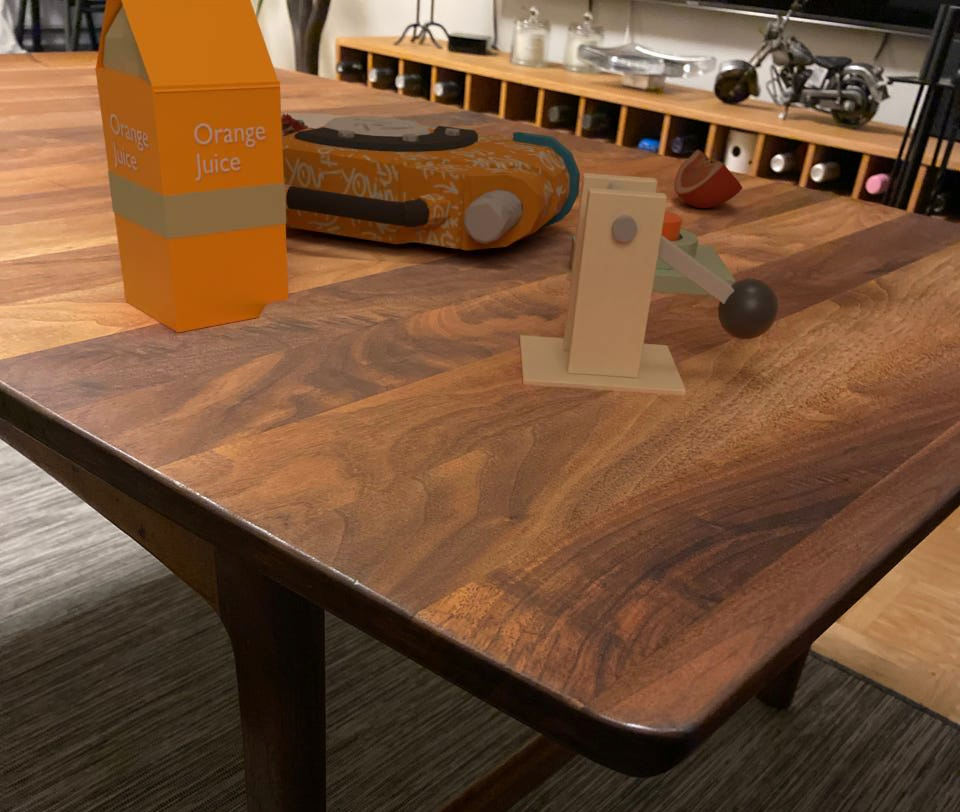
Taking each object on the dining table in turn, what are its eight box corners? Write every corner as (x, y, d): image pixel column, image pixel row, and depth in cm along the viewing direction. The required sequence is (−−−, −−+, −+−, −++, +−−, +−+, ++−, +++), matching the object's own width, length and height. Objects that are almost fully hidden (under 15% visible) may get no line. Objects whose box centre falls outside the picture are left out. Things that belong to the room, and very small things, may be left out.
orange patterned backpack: (524, 181, 75) (160, 129, 81) (513, 294, 80) (171, 237, 86) (590, 134, 93) (287, 94, 99) (578, 229, 98) (290, 185, 104)
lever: (744, 338, 67) (782, 291, 65) (756, 358, 64) (796, 310, 62) (579, 222, 63) (615, 169, 61) (584, 238, 60) (622, 182, 58)
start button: (674, 234, 84) (678, 211, 83) (681, 247, 81) (685, 224, 80) (625, 230, 84) (629, 207, 83) (631, 243, 81) (634, 220, 80)
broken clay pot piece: (662, 195, 112) (670, 145, 109) (720, 198, 113) (730, 148, 110) (685, 215, 106) (694, 162, 103) (747, 217, 107) (758, 165, 104)
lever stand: (664, 362, 70) (697, 176, 63) (683, 409, 63) (721, 207, 57) (518, 352, 70) (535, 164, 63) (521, 398, 63) (541, 193, 56)
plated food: (422, 196, 104) (423, 160, 102) (140, 165, 107) (136, 129, 105) (473, 145, 128) (475, 115, 126) (243, 121, 131) (241, 91, 129)
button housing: (707, 271, 89) (716, 223, 87) (729, 308, 81) (740, 256, 79) (569, 261, 89) (575, 212, 86) (577, 297, 80) (584, 244, 78)
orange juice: (290, 311, 73) (278, -22, 62) (177, 333, 68) (140, -25, 57) (233, 282, 78) (211, -33, 66) (123, 300, 73) (78, -38, 61)
